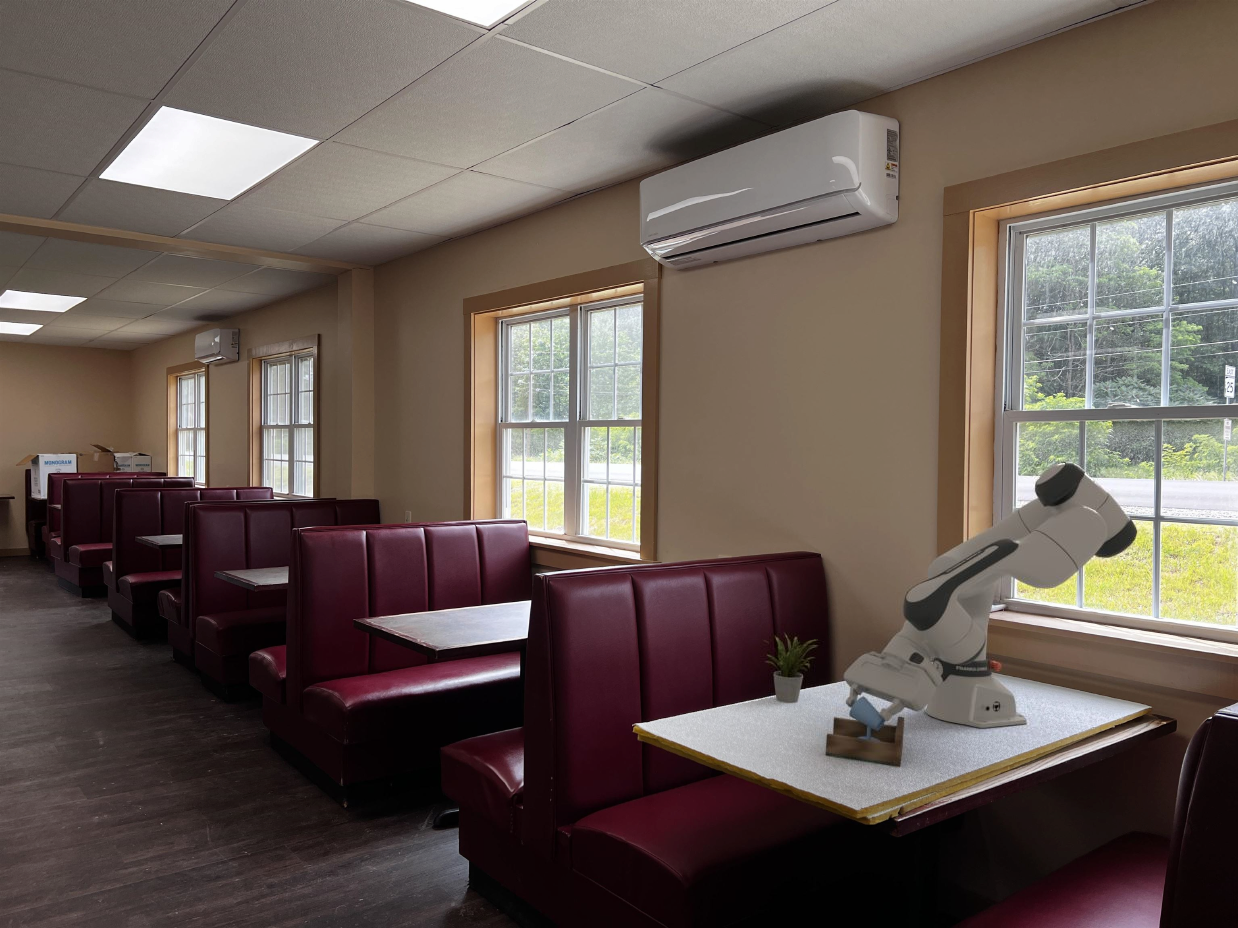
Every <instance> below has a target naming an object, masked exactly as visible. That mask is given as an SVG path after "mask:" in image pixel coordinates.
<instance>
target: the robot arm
mask: <svg viewBox="0 0 1238 928" xmlns="http://www.w3.org/2000/svg"><path fill="white" fill-rule="evenodd" d="M1034 484H1035V485H1034V492H1035V494H1036V498H1035V499H1033V500H1031V501H1029V502H1028V503H1025V504H1024V505H1023V506H1021V507H1019V508H1018V509H1017V510H1015V511H1014V512H1013V511H1012V513H1011V514H1009V515H1007V516H1006V517H1004V518H1003V519H1001V520H1000V521H998V522H997V523H996V524H994V525H992V526H991V527H989V528H987V529H985V530H984V531H982V532H980V533H978V534H976V535H974V536H973V537H971V538H969V539H967V540H965V541H964V542H962V543H960V544H958V545H957V546H955V547H952V548H951V549H950V550H948V551H947V552H945V553H943V554H941V555H940V556H938V557H936V558H935V559H934V560H933V561H932V562H931V563H930V564H929V566H928V569H927V573H926V574H927V576H926V577H927V579H926V580H924V581H922V582H920V583H917V584H915V585H914V586H912V587H911V588H910V589H909V590H908V591H907V592H906V594H905V596H904V598H903V599H904V600H903V608H902V610H903V617H904V619H906V620H905V621H904V624H903V625H902V628H901V630H900V631H899V632H897V633H896V634H894V636H893V637H892V639H891V640H890V641H889V642H888V644H887V645H886V646H885V648H884V649H883V650H882V652H881V653H878V652H876V651H870V652H867V653H864V654H862V655H861V656H860V657H858V658H857V659H856V660H855V661H854V662H853V663H852V664H851V665H850V666H849V667H848V668H847V669H846V671H845V672H844V673H843V680H844V681H845V682H846V684H847V685H848V686H849V696H848V697H847V699H846V700H845V704H846V705H847V707H849V708H850V709H851V708H852V706H853V705H854V703H855V702H856V701H857V700H858V696H861V695H862V694H863V693H864V694H867V695H870V696H872V697H875V698H878V699H881V700H883V701H887V702H889V703H892V704H891V705H889V706H887V708H884V707H882V708H881V710H880V712H879V717H880V718H881V719H882V720H885V722H889V721H890V720H891V719H892V717H893V716H895V715H897V714H899V713H901V712H902V711H903V710H904V709H905V708H906V709H909V710H911V711H913V712H917V713H918V712H920V711H922V710H924V709H925V710H924V712H925V713H926V714H927V715H929V716H930V717H933V718H935V719H939V720H940V721H941V720H942V721H945V722H950V723H953V724H954V723H955V724H960V725H967V726H971V727H974V728H979V729H980V728H981V729H986V728H993V727H994V728H995V727H1003V726H1012V725H1013V726H1014V725H1024V724H1027V723H1028V722H1027V718H1026V717H1025V716H1024V715H1023V714H1021V713H1019V712H1017V703H1016V699H1015V696H1014V694H1013V692H1011V690H1009V688H1008V687H1006V686H1005V685H1004V684H1002V683H1001V681H999V679H997V678H996V677H995V676H994V675H993V672H992V670H993V671H996V672H1000V671H1001V669H1002V667H1003V666H1002V664H1001V663H1000V662H999V661H995V660H992V661H991V660H989V659H988V658H986V657H987V646H988V645H987V643H988V642H987V641H988V626H989V620H990V616H991V611H992V607H993V603H994V601H995V600H994V599H995V596H996V595H995V594H996V589H997V586H998V584H999V582H1000V580H1001V579H1002V578H1005V577H1006V576H1009V577H1012V578H1013V579H1015V580H1017V581H1019V582H1021V583H1022V584H1025V585H1027V586H1029V587H1032V588H1036V589H1041V590H1042V589H1043V590H1046V589H1053V588H1054V589H1055V588H1056V587H1058V586H1060V585H1062V584H1064V583H1065V582H1067V581H1068V580H1069V579H1070V578H1072V577H1073V576H1074V575H1075V574H1076V573H1077V572H1078V571H1080V569H1082V568H1083V567H1084V566H1085V565H1086V564H1087V563H1088V562H1089V561H1090V560H1091V559H1092V558H1093V557H1094V556H1095V557H1097V558H1102V559H1103V558H1104V559H1108V558H1109V559H1110V558H1112V557H1114V556H1117V555H1119V554H1121V553H1123V552H1124V551H1126V550H1127V549H1128V548H1129V547H1130V546H1132V544H1133V543H1134V542H1135V540H1136V538H1137V535H1138V529H1137V527H1136V525H1135V522H1134V521H1133V520H1132V518H1131V517H1130V516H1128V515H1127V514H1126V513H1125V512H1124V511H1125V510H1123V509H1122V507H1121V506H1120V504H1119V503H1118V502H1117V501H1116V500H1115V498H1114V497H1113V495H1111V494H1110V493H1109V492H1108V491H1106V490H1105V489H1104V488H1103V487H1102V486H1101V485H1100V484H1099V483H1098V482H1096V480H1094V479H1093V478H1092V477H1091V476H1090V475H1089V474H1087V473H1086V470H1085V469H1083V468H1082V467H1081V466H1080V465H1078V464H1076V463H1075V462H1073V461H1061V462H1059V463H1056V464H1054V465H1052V466H1050V467H1048V468H1047V469H1045V470H1044V471H1043V472H1042V473H1041V475H1040V476H1039V477H1038V479H1037V480H1036V481H1035V483H1034Z"/></svg>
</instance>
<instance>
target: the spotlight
mask: <svg viewBox="0 0 1238 928" xmlns="http://www.w3.org/2000/svg"><path fill="white" fill-rule="evenodd" d="M849 710H850V711H849V714H848V715H849V717H850V718H852V719H853V720H858V721H860V722H861V723H863V724H865V725H867V726H868V727H867V737H858V738H861V739H868V740H875V741H879V740H878V739H876V738H872V737H871V728H873V729H874V730H876V731H877V730H879V729H880V728H881V727H882V726H883V724H885V722H886V721H885V720H882V719H881V718H880V717H879V713H880V712H879V711H878V709H876V708H875V706H874V705H873V704H872V703H871V702H870V701H869V700H868V699H867V698H866V697H865V696H861V697H859V698H857V701H856V702H855V703H854V705H853V706H852V708H851V707H850V709H849Z"/></svg>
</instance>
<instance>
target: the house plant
mask: <svg viewBox="0 0 1238 928" xmlns="http://www.w3.org/2000/svg"><path fill="white" fill-rule="evenodd" d="M783 634H784V637H785V638H786V640H787V646H788V651H787V652H786V648H785V645H784V644H783V642H782V641H781V640H780V639H779V637H777V636H776V635H774V637H775V640H776V642H777V645H778V646H777V648H778V652H777V649H774V650H775V652H776V654H777V658H776V657H774V656H772V655H771V654H766V656H767V657H769V658H770V659H771V660H772V661H774V662H775V663H774V662H772V661H769V660H767V661H765V663H768V664H771V665H772V666H775V668H776V669H777V670H778V671H774V672H773V682H774V690H775V691H774V692H775V699H776V701H779V702H782V703H788V704H790V703H791V704H793V703H794V704H795V703H798V701H799V697H800V692H801V687H802V685H803V683H802V682H803V680H804V679H803V678H804V675H803V674H802V673H801V672H799V670H800V669H802V670H805V671H806V672H807V671H808V670H807V668H806V667H804V665H805V666H807V667H810V666H811V664H810V663H809V660H811V659H814V658H816V657H815V656H814V657H812V656H811V657H807V658H806V659H804V657H805V655H806V654H807V653H808V652H809V651H810V650H811V649H813V648H815V647H818V645H815V644H813V645H810V643H812V642H815V641H817V639H811V640H808V641H806V642H804V644H800V645H799V643H800V641H798V636H795V637H794V638H793V643H792V645H791V641H790V639H789V637H788V635H787V634H786V633H785V632H783ZM763 641H765V642H767V643H768V641H766V640H765V639H764V640H763ZM808 645H809V646H808ZM801 655H802V656H801ZM802 661H803V662H802ZM807 662H808V663H807ZM779 668H780V670H779Z"/></svg>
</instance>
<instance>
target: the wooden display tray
mask: <svg viewBox="0 0 1238 928" xmlns="http://www.w3.org/2000/svg"><path fill="white" fill-rule="evenodd" d="M832 725H833V729H832V733H826V743H825V744H826V745H825V756H827V757H828V756H829V757H834V758H840V759H847V760H852V761H859V762H865V763H871V764H878V765H886V766H891V767H897V768H901V764H902V756H903V755H902V754H903V748H904V731H905V730H904V727H905V717H904V716H897V722H896V725H892V724H885V723H884V724H883V726H882V727H881V728H880V729H879V730H877V731H876V730H874V729H873V728H871V737H872V738H876V739H878V740H879V741H875V740H868V739H861V738H858V737H867V727H868V726H867V725H865V724H863V723H861V722H860V721H858V720H856V719H850V718H845V717H844V718H843V717H835V716H833V724H832Z"/></svg>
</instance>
